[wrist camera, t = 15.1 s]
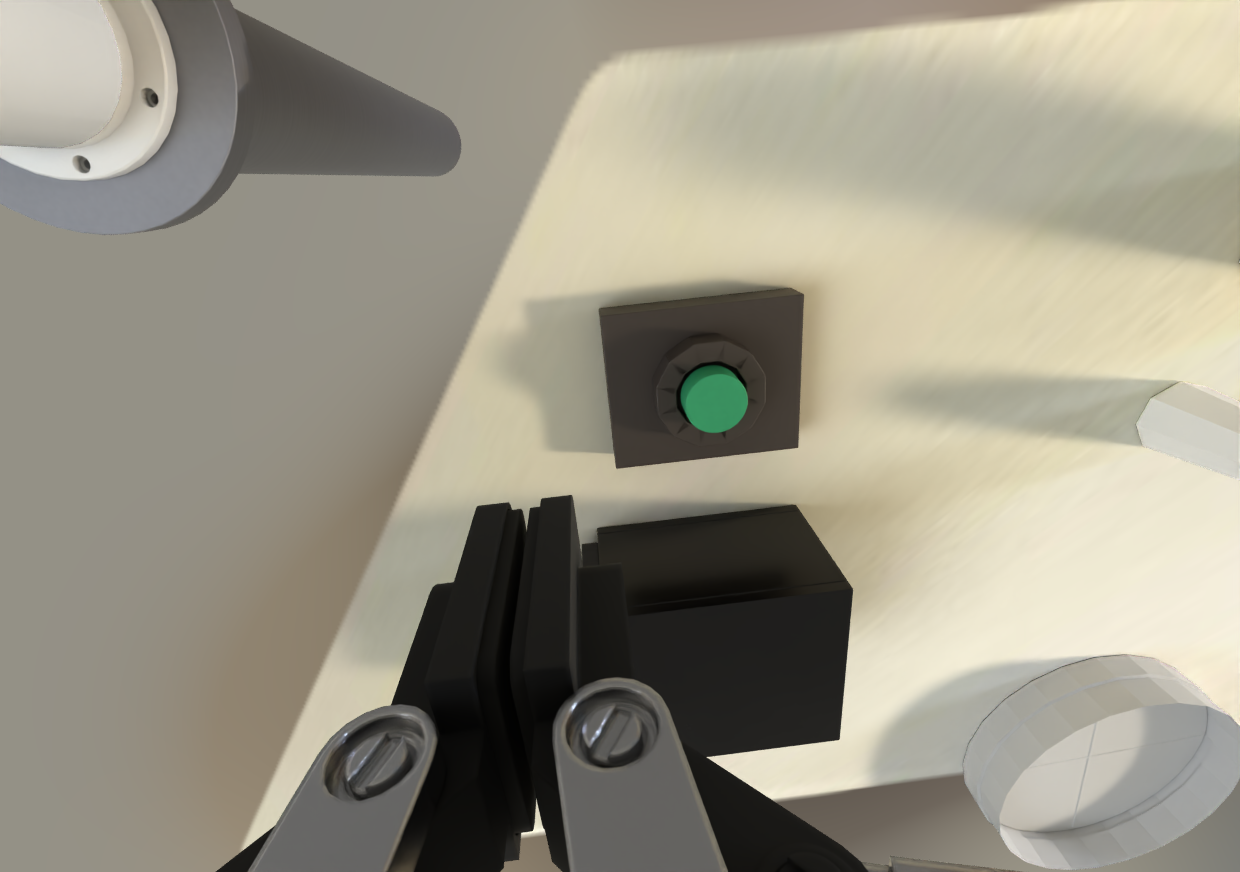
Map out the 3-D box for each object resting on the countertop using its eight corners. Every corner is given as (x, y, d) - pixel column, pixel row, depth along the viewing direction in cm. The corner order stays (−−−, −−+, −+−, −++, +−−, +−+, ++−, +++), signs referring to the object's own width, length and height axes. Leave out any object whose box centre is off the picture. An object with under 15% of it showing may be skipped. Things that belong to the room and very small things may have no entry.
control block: (598, 308, 36) (601, 322, 32) (791, 287, 36) (815, 299, 32) (614, 454, 40) (618, 482, 36) (787, 434, 40) (808, 460, 36)
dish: (955, 835, 60) (986, 889, 56) (970, 681, 51) (1009, 730, 47) (1167, 795, 60) (1216, 846, 56) (1220, 633, 51) (1283, 678, 46)
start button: (678, 368, 34) (683, 377, 32) (740, 361, 34) (748, 370, 32) (681, 424, 35) (686, 436, 34) (740, 418, 35) (748, 429, 34)
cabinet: (613, 658, 47) (622, 768, 38) (596, 527, 42) (602, 619, 33) (791, 637, 48) (839, 740, 39) (796, 504, 42) (853, 589, 34)
